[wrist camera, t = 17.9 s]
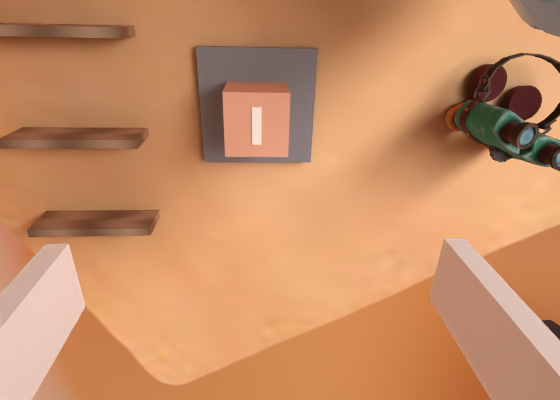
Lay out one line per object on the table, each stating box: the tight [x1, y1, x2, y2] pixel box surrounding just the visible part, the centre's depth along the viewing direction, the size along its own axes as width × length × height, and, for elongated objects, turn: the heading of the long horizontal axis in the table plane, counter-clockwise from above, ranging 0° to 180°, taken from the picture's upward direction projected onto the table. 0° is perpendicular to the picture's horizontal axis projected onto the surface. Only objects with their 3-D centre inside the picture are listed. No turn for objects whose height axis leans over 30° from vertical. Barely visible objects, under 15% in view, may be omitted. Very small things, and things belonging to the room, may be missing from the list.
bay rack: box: [0, 23, 160, 237], centre depth 34 cm, size 12×29×4 cm, turn 179°
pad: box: [196, 46, 317, 162], centre depth 37 cm, size 11×11×1 cm
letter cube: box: [222, 81, 291, 157], centre depth 34 cm, size 6×6×6 cm
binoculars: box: [445, 53, 560, 171], centre depth 34 cm, size 9×11×10 cm
